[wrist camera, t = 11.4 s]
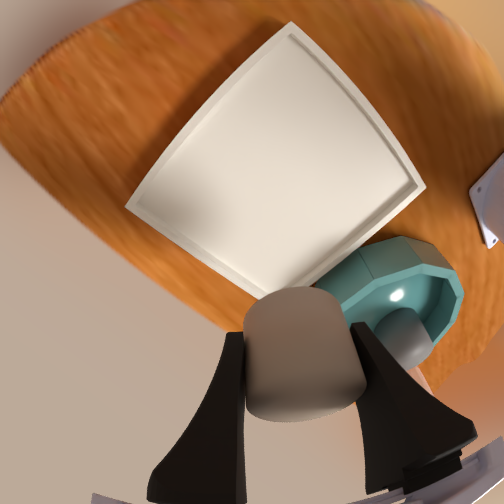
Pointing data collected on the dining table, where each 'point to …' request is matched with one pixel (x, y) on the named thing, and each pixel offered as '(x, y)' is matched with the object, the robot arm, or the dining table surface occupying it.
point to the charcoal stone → (404, 337)
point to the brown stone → (299, 356)
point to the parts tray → (278, 171)
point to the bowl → (396, 284)
